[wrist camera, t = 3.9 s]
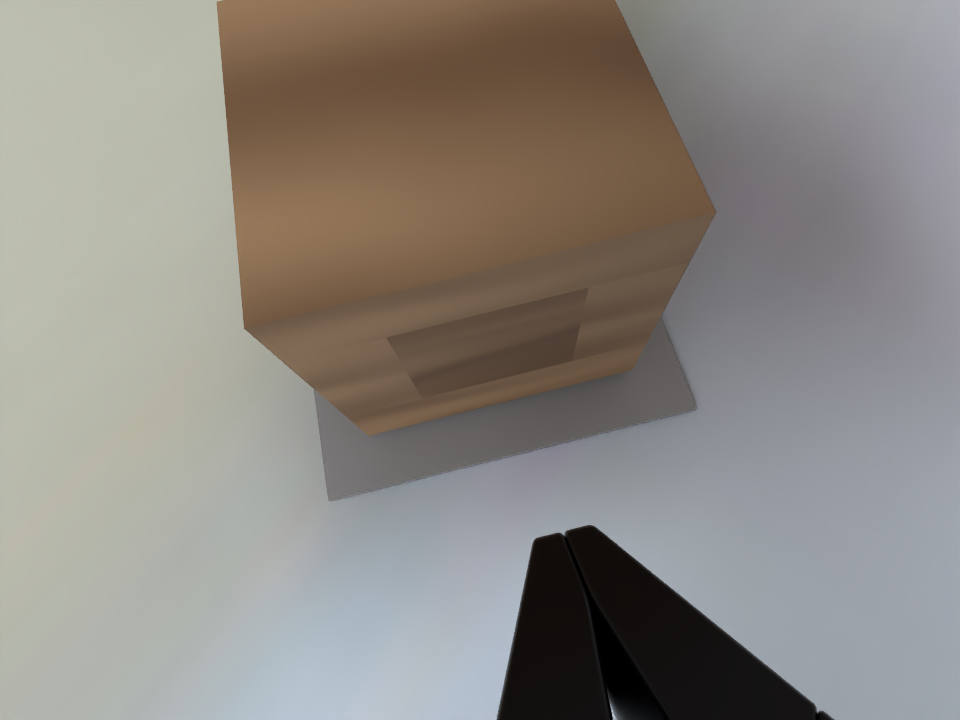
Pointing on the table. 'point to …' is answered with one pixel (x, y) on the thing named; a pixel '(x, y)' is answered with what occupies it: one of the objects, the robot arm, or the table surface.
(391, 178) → the walnut block
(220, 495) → the table surface
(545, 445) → the gray angle bracket
